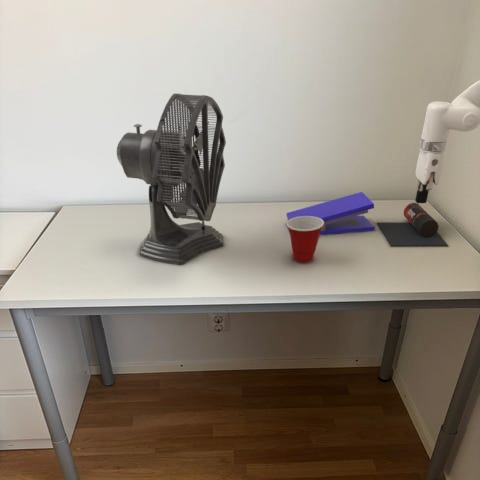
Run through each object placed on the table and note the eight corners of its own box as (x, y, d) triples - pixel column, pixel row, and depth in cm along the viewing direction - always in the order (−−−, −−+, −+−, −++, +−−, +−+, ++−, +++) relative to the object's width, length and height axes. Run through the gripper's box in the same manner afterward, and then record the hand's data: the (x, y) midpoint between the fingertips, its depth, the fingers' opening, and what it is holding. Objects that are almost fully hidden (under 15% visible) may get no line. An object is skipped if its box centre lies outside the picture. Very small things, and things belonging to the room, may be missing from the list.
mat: (429, 223, 177) (429, 222, 176) (447, 246, 162) (447, 245, 162) (377, 223, 176) (377, 222, 176) (391, 246, 161) (391, 245, 161)
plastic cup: (292, 247, 160) (295, 211, 154) (325, 255, 156) (329, 218, 149) (278, 262, 152) (280, 224, 146) (312, 270, 148) (316, 231, 141)
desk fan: (267, 261, 152) (273, 100, 127) (163, 289, 139) (147, 114, 114) (215, 221, 177) (212, 79, 151) (123, 241, 163) (102, 88, 138)
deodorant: (417, 219, 179) (434, 238, 167) (401, 218, 178) (417, 236, 166) (422, 203, 176) (441, 221, 164) (406, 202, 175) (423, 219, 163)
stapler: (375, 231, 171) (379, 202, 166) (294, 237, 167) (296, 208, 161) (361, 217, 180) (365, 190, 175) (284, 223, 176) (286, 195, 170)
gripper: (453, 152, 152) (439, 211, 162) (436, 138, 164) (424, 194, 175) (428, 152, 152) (416, 211, 162) (413, 138, 164) (402, 194, 175)
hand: (420, 202), depth 168 cm, fingers closed
